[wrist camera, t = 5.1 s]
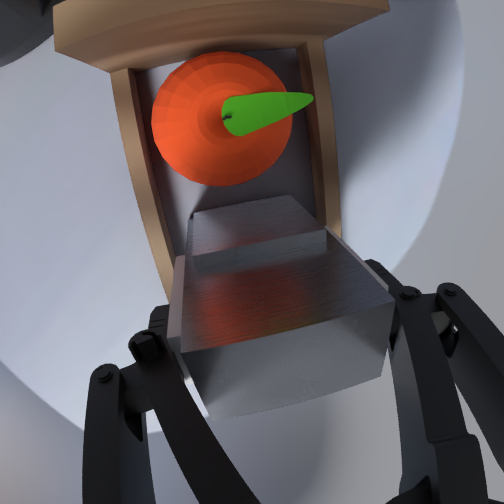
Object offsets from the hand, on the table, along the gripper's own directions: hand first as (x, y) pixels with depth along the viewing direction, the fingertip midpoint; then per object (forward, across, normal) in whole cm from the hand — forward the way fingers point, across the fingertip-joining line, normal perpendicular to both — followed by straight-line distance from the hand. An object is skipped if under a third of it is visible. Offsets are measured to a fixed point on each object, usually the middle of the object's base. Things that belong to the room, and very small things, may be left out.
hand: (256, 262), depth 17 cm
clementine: (+4, 0, +8) cm, 9 cm away
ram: (+4, 0, 0) cm, 4 cm away
